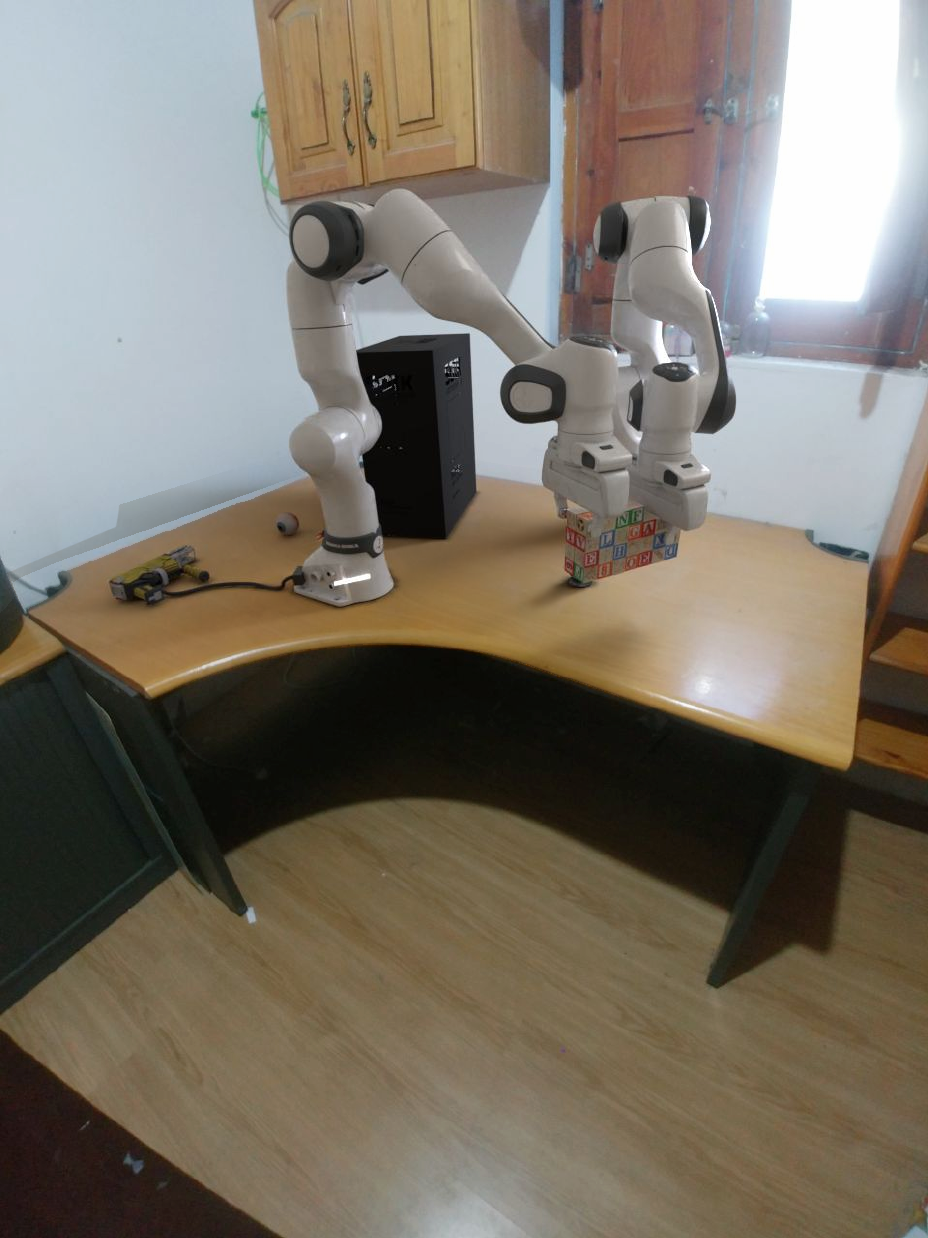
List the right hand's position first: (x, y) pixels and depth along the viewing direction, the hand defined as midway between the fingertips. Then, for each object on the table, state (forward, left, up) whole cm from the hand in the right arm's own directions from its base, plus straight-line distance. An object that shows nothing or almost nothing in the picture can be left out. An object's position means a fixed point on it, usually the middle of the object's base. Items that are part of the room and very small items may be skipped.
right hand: (653, 535), depth 114 cm
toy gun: (+86, -62, -15) cm, 108 cm away
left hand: (+17, 0, +6) cm, 18 cm away
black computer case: (+17, -74, -15) cm, 78 cm away
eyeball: (+57, -79, -15) cm, 99 cm away
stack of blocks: (+7, 0, -4) cm, 8 cm away
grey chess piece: (+5, -15, -15) cm, 22 cm away
